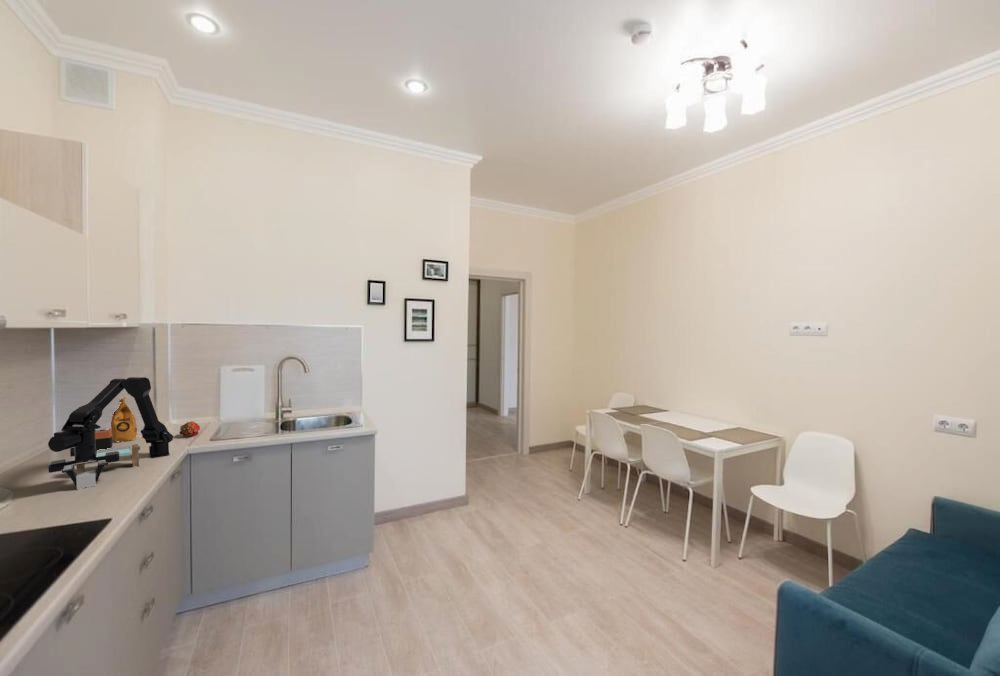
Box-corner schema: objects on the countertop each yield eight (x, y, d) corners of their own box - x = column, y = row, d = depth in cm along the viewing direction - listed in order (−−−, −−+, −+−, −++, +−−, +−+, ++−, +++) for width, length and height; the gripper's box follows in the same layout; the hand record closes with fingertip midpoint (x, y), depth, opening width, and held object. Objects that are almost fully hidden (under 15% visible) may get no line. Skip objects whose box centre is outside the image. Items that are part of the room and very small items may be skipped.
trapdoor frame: (140, 462, 181) (139, 443, 180) (140, 465, 177) (140, 446, 177) (75, 474, 167) (75, 453, 167) (74, 477, 164) (74, 456, 163)
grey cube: (96, 482, 160) (95, 469, 159) (95, 486, 156) (95, 473, 156) (77, 485, 156) (77, 473, 156) (76, 490, 153) (76, 476, 152)
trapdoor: (130, 452, 181) (130, 445, 181) (130, 458, 173) (130, 451, 173) (86, 459, 171) (86, 452, 171) (85, 466, 164) (84, 459, 163)
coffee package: (110, 444, 205) (108, 400, 204) (112, 438, 215) (110, 396, 214) (136, 440, 212) (135, 398, 210) (137, 434, 221) (136, 394, 220)
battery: (93, 449, 198) (92, 428, 197) (112, 446, 201) (111, 426, 201) (91, 451, 194) (90, 430, 193) (110, 449, 198) (109, 428, 197)
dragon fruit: (186, 442, 214) (190, 439, 225) (202, 431, 218) (205, 428, 229) (174, 430, 213) (178, 428, 223) (190, 419, 216) (194, 417, 227)
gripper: (118, 433, 167) (120, 471, 168) (51, 443, 155) (52, 483, 156) (118, 440, 159) (120, 479, 160) (47, 450, 147) (49, 493, 147)
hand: (86, 483), depth 156 cm, fingers closed on grey cube, 5 cm apart
